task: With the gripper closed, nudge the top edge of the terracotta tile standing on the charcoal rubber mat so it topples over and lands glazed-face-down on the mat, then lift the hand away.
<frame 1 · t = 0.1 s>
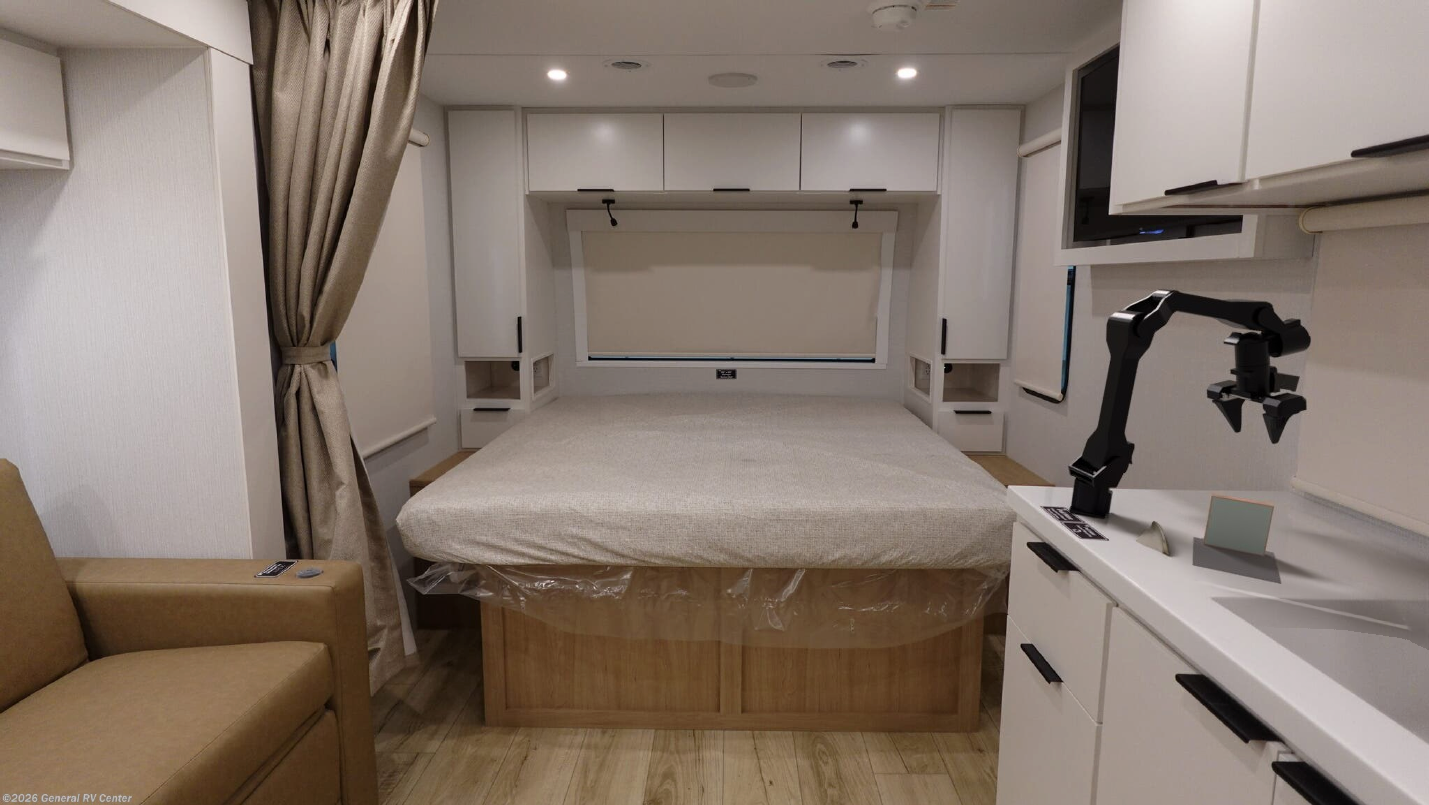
hand: (1255, 437, 158), 15 cm above the counter, tool pointing down, fingers open, 9 cm apart
mat: (1233, 561, 133), on the counter
tile: (1233, 548, 138), resting on mat
ceramic fragment: (1155, 547, 140), on the counter
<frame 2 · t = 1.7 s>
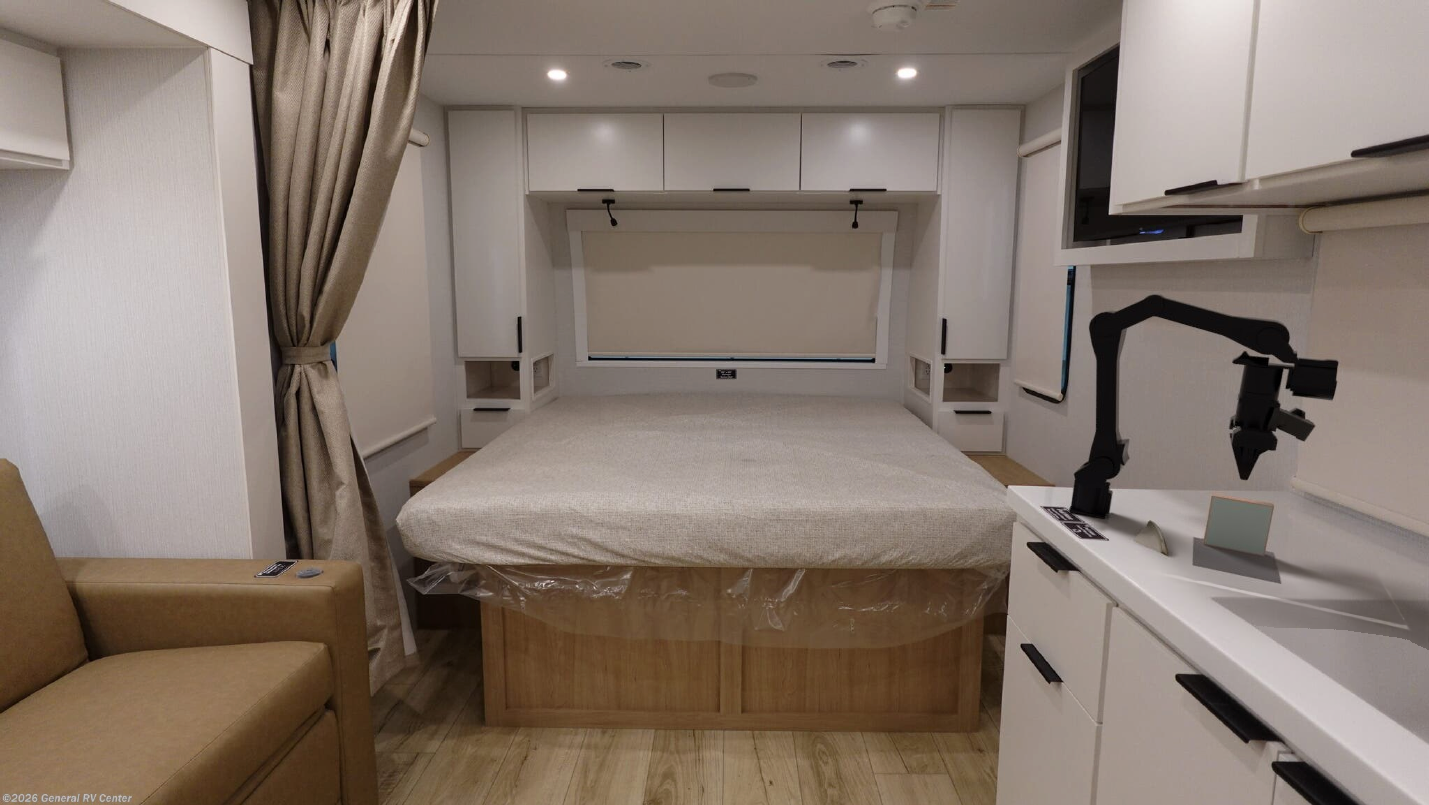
hand: (1243, 478, 140), 12 cm above the counter, tool pointing down, fingers open, 3 cm apart
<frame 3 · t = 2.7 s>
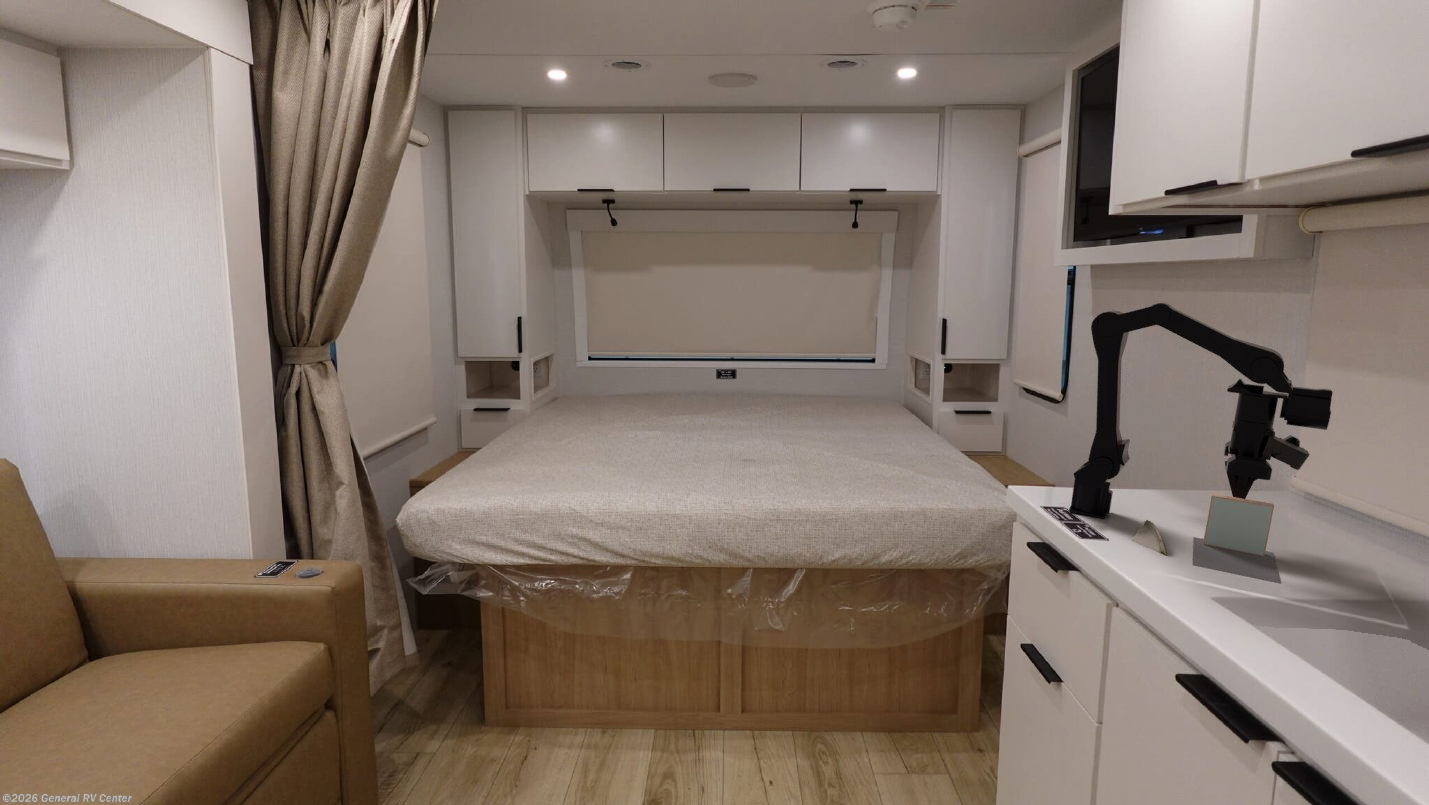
hand: (1238, 504, 141), 7 cm above the counter, tool pointing down, fingers closed
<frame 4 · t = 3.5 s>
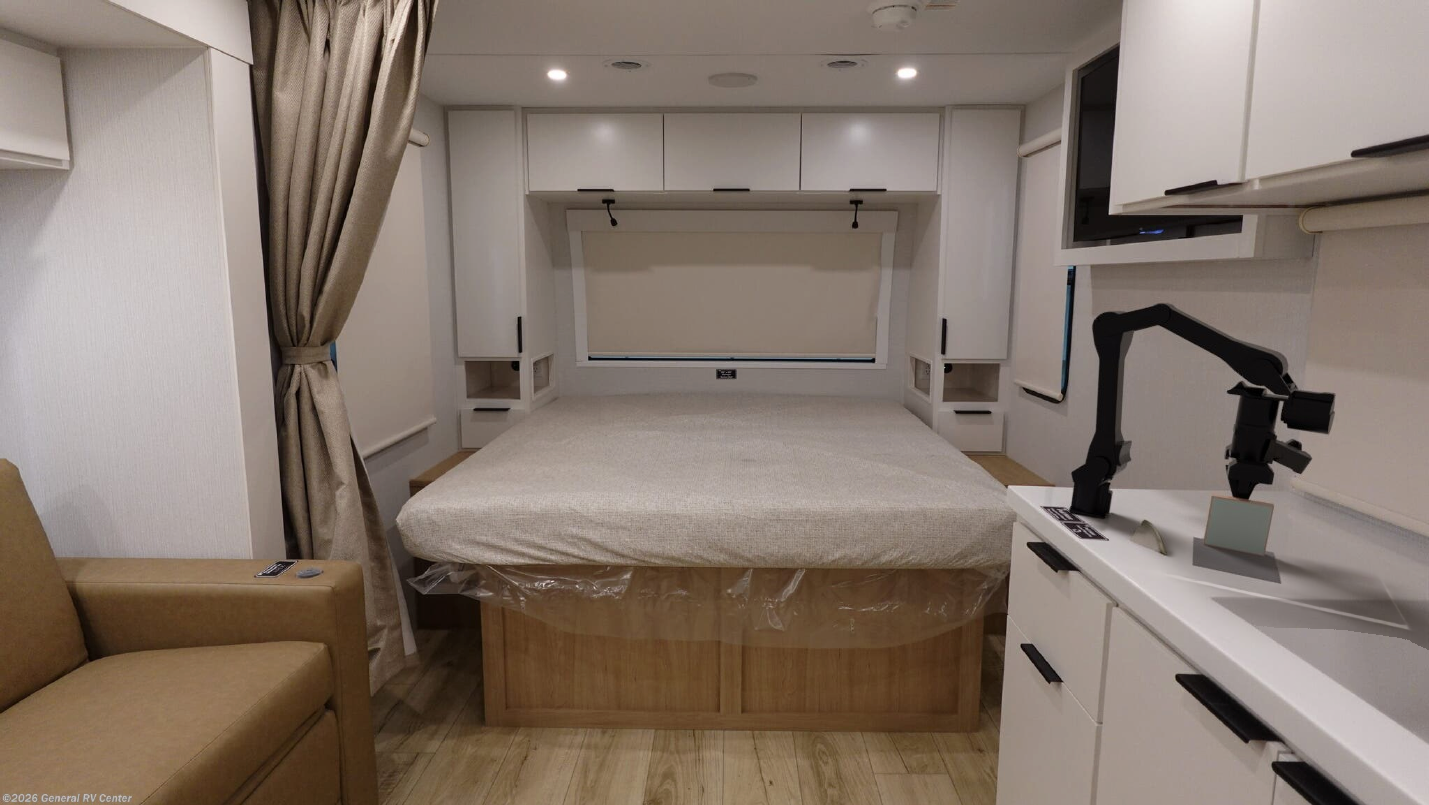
hand: (1239, 509, 138), 7 cm above the counter, tool pointing down, fingers closed
tile: (1233, 548, 138), point 1 cm above the counter, touching gripper, mat
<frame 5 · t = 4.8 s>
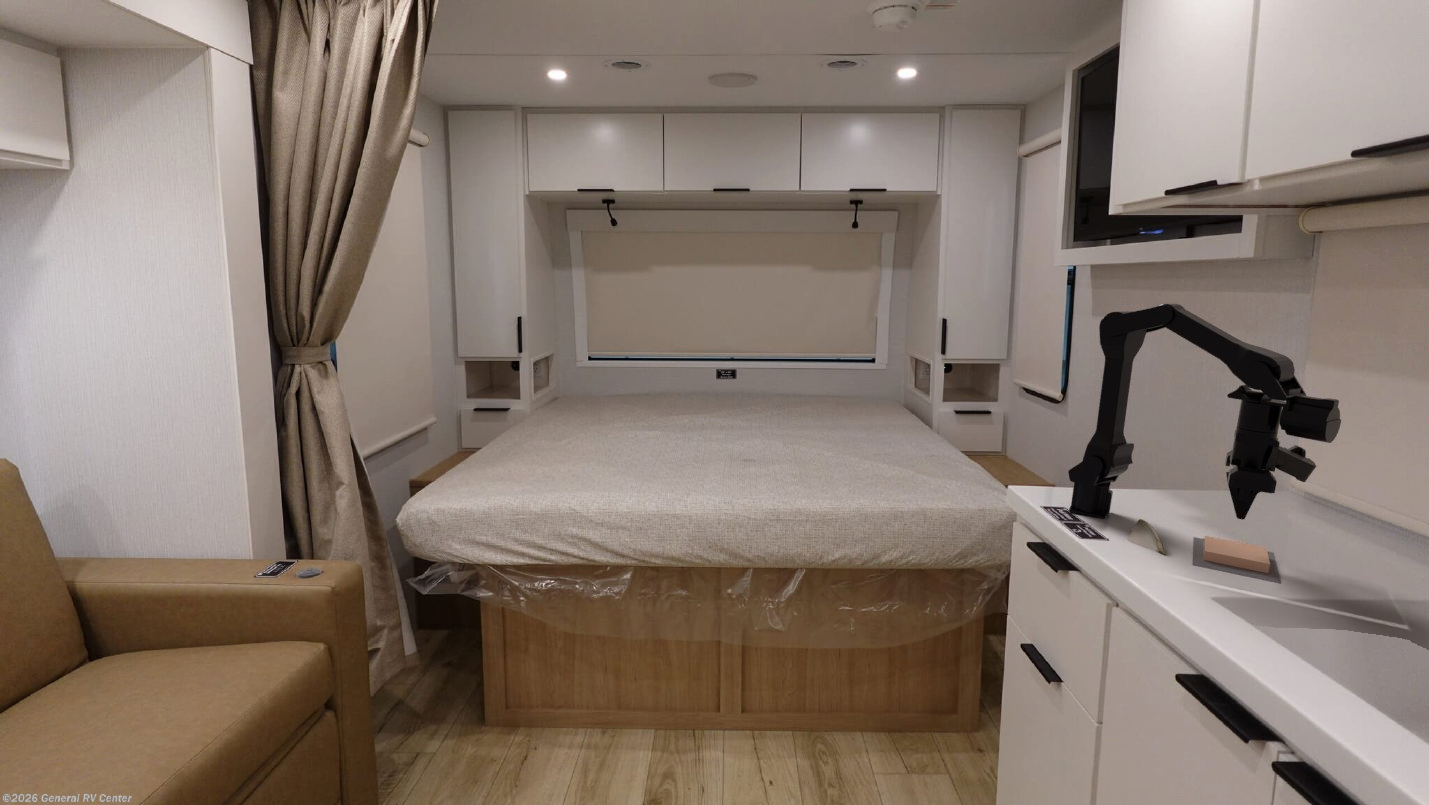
hand: (1240, 518, 134), 7 cm above the counter, tool pointing down, fingers closed
tile: (1234, 545, 137), point 1 cm above the counter, tilted 90°, touching mat
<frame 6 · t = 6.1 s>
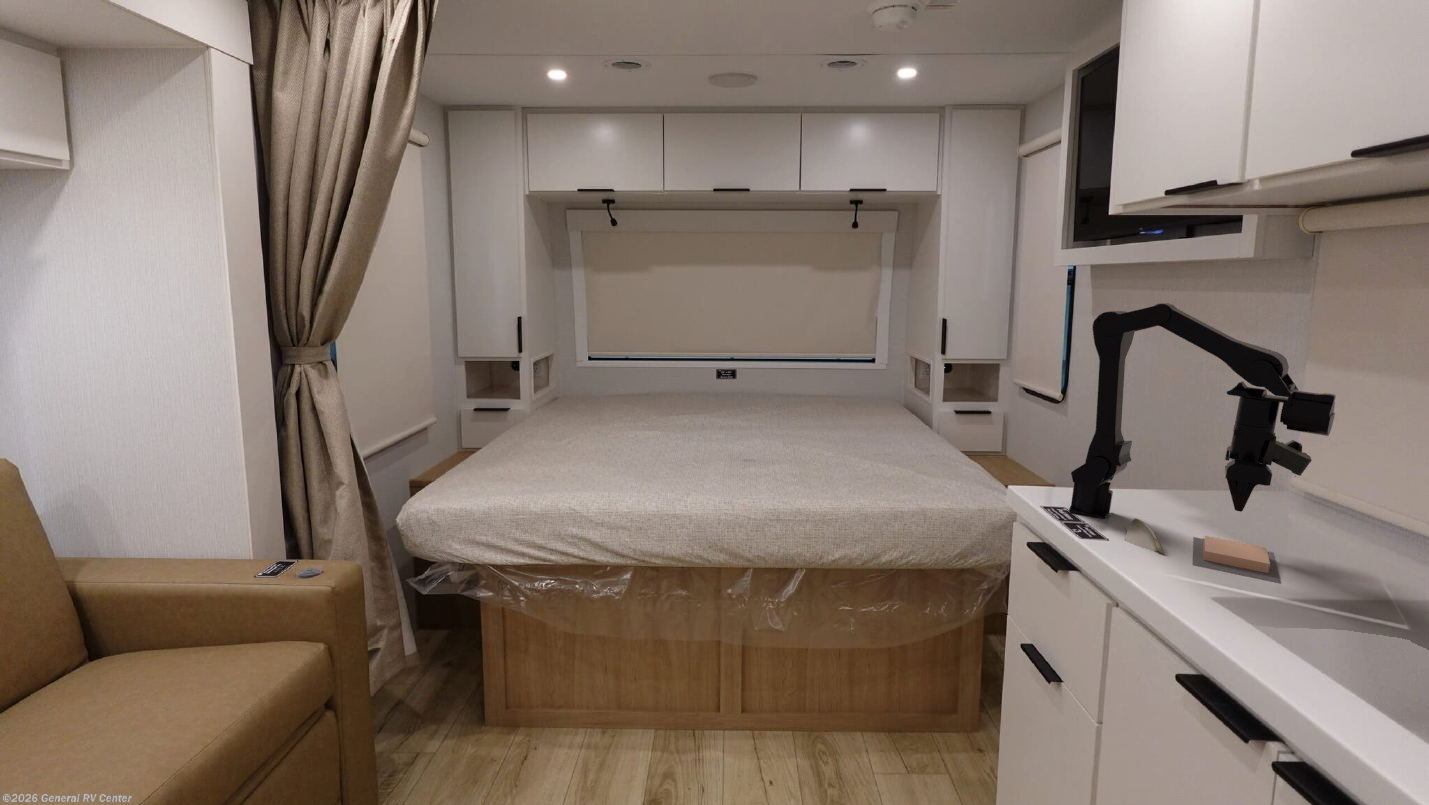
hand: (1238, 510, 138), 7 cm above the counter, tool pointing down, fingers closed
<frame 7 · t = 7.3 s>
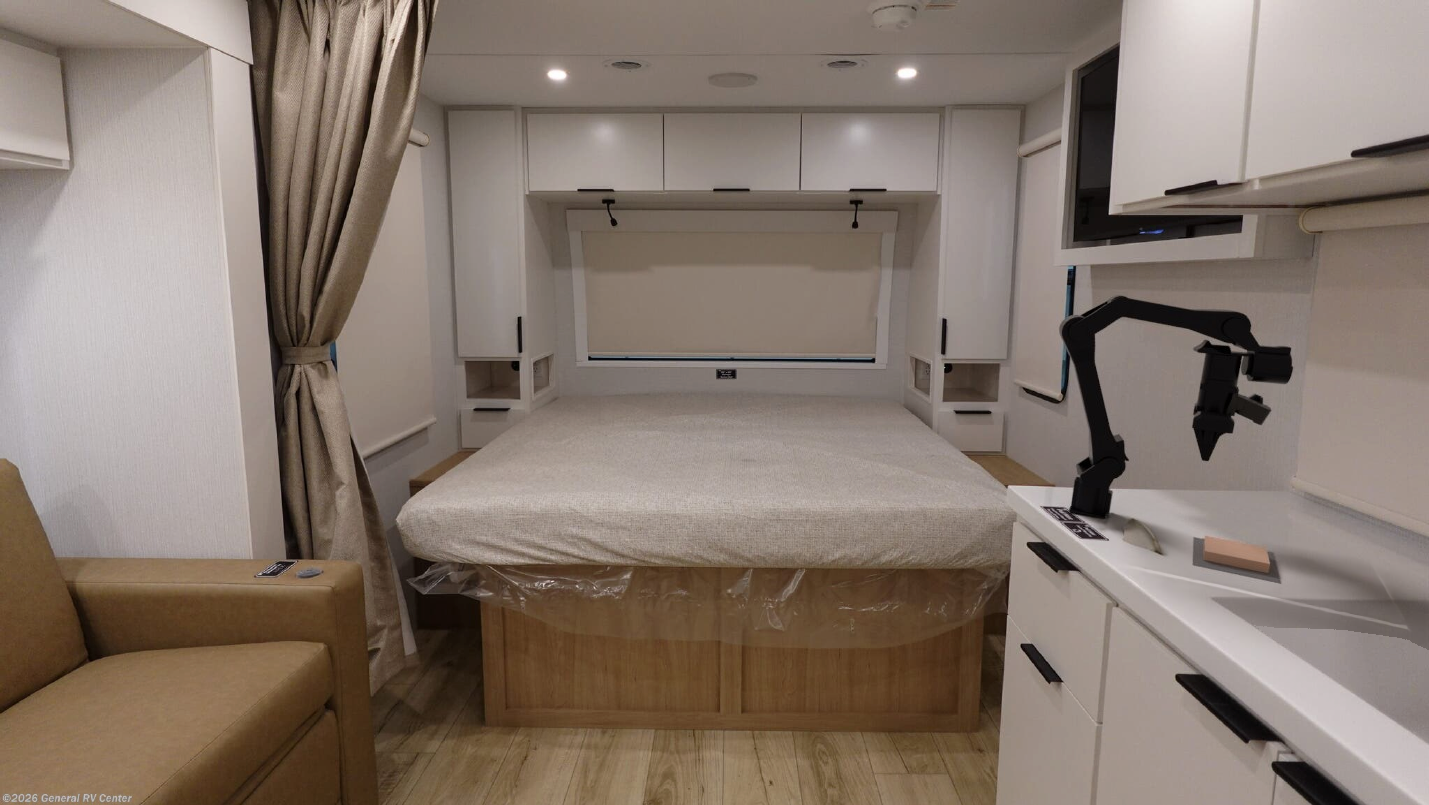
hand: (1205, 460, 148), 13 cm above the counter, tool pointing down, fingers closed
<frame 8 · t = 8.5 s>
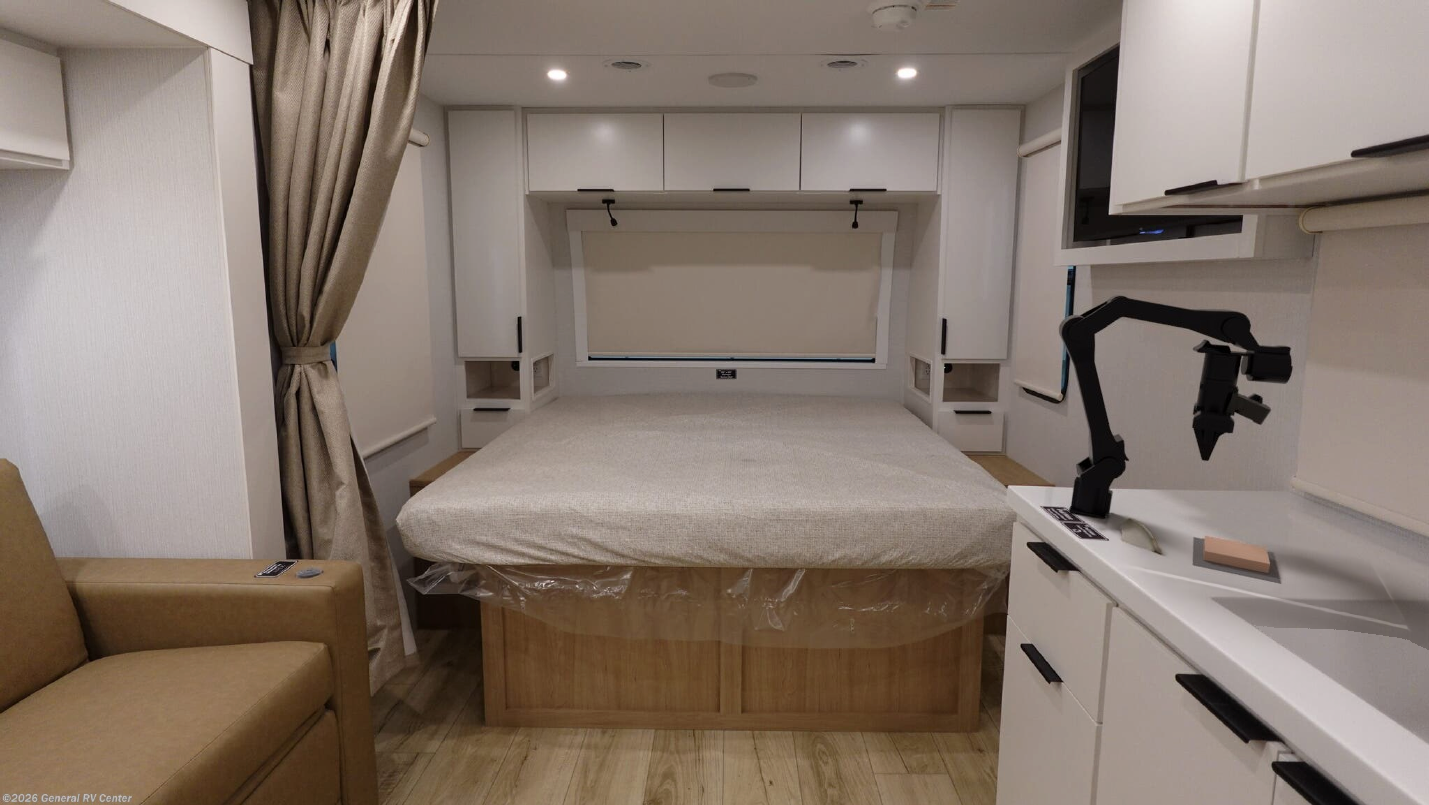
hand: (1205, 460, 148), 13 cm above the counter, tool pointing down, fingers closed
at the end: tile tilted 90°; tile inside the target area (5.1 cm from its centre), point 1.4 cm above the counter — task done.
